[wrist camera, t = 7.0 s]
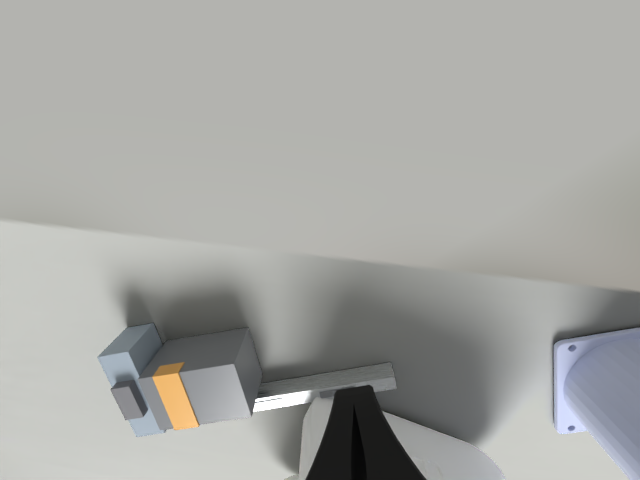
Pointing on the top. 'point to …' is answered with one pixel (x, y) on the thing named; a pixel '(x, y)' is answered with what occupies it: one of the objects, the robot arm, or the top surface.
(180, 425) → the module
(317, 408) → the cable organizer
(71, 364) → the top surface
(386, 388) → the rail
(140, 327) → the end clamp
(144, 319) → the top surface
